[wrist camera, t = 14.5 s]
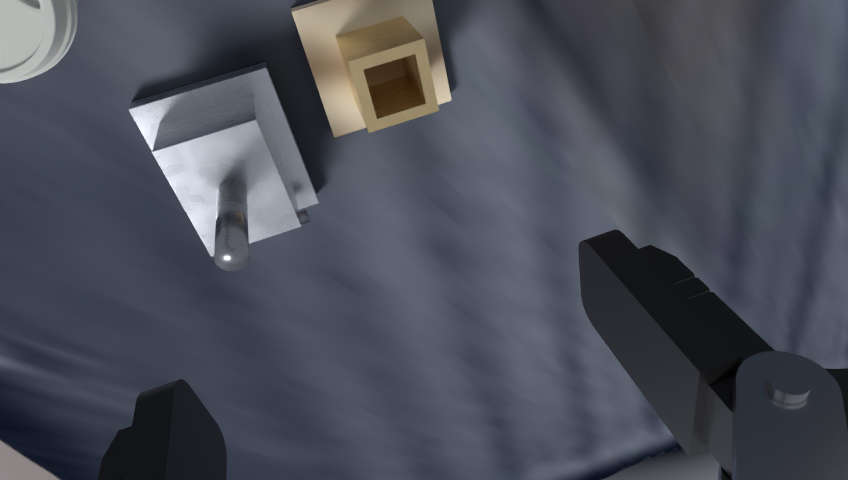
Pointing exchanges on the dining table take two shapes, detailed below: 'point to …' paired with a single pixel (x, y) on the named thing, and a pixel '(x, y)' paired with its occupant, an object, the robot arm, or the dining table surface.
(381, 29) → the collar
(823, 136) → the dining table surface
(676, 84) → the dining table surface
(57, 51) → the coffee cup
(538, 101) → the dining table surface
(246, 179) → the block
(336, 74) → the beige pad
